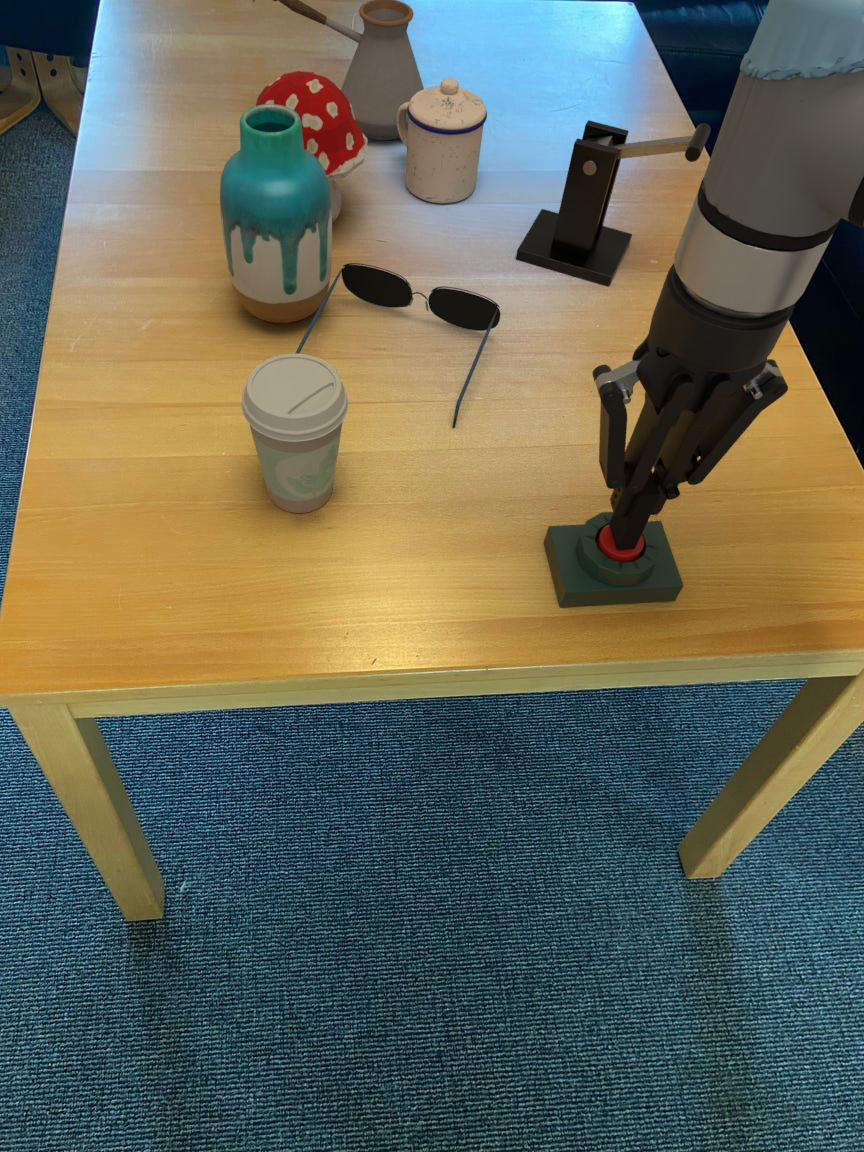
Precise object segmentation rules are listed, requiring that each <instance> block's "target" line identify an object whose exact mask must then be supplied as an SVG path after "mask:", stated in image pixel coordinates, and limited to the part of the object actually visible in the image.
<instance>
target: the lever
mask: <svg viewBox="0 0 864 1152" xmlns="http://www.w3.org/2000/svg"><path fill="white" fill-rule="evenodd" d="M711 130H712V129H711V126H710V125H709V124H708V123H706V122H705V123H704V122H703V123H700V124H698V125H697V126H696V127H695V130H694V133H693V134H692V135H685V136H677V137H669V138H660V139H652V140H644V141H643V140H642V141H636V142H635V141H634V142H628V143H627V142H626V143H625V144H619V145H613V136H607V137H599V138H591V139H586V141H590V142H594V143H597V144H601V145H605V146H609V147H613V148H616V149H619V151H618V154H617V158H616V159H621V160H623V159H630V158H632V159H633V158H641V157H648V156H656V155H657V156H658V155H666V154H675V153H681V152H682V153H683V152H685V153H684V158H685V159H686V160H687V162H690V163H694V162H696V161H698V160H699V159H700V157H701V154H702V153H703V150H704V148H705V145H706V144H707V141H708V139H709V137H710V135H711V132H712V131H711Z"/></svg>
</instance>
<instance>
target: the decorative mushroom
mask: <svg viewBox="0 0 864 1152" xmlns="http://www.w3.org/2000/svg"><path fill="white" fill-rule="evenodd" d="M263 104H276V105H282V106H286V107H288V108H290V109H292V110H294V111H295V112H296V113H297V114H298V115H299V117H300V119H301V124H302V135H303V144H304V149H305V150H307V151H308V152H310V153H311V154H313V155H314V156H315V157H316V158H317V159H318V160H319V161H320V163H321V165H322V166H323V168H324V170H325V173H326V176H327V179H328V184H329V190H330V198H331V212H332V224H333V223H334V222H335V221H336V219H337V218H338V217H339V215H340V212H341V206H342V195H341V190H340V187H339V186H338V184H337V182H336V181H335V180H338V179H344V178H345V177H347V176H348V175H350V174H351V173H352V172H353V171H355V170H356V169H358V168H359V167H360V166H361V165H362V164H364V162H365V159H366V156H367V155H366V154H367V149H368V139H369V138H368V137H366V136H365V135H364V134H363V132H362V131H361V129H360V128H359V126H358V125H357V122H356V119H355V115H354V111H353V108H352V105H351V103H350V102H349V101H348V99H347V98H346V96H345V95H344V94H343V93H342V91H341V88H339V87H338V85H336V83H334V82H333V81H332V80H330V79H329V78H328V77H326V76H324V75H321V74H319V73H316V72H313V71H300V70H297V71H291V72H286V73H283V74H282V75H280V76H279V77H277V78H275V79H274V80H273V81H271V82H270V83H269V84H267V85H266V86H264V88H263V89H262V90H261V92H260V94H259V95H258V97H257V99H256V101H255V105H254V106H258V105H263Z"/></svg>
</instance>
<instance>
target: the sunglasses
mask: <svg viewBox="0 0 864 1152" xmlns="http://www.w3.org/2000/svg"><path fill="white" fill-rule="evenodd" d="M340 276H341V279H342V282H343V285H344V287H345V288H346V289H347V290H348V291H349V292H350V293H351V294H352V295H354V296H355V297H357V298H358V299H360V300H362V301H364V302H365V303H368V304H371V305H375V306H379V307H382V308H393V309H396V308H406V307H411V305H412V304H413V302H414V297H413V295H416V294H418V295H420V296H422V297H423V298H424V299H425V301H424V302H425V303H424V305H425V309H426V311H427V312H428V311H429V310H430V311H431V313H432V314H433V315H434V316H436V317H437V318H439V319H440V320H443V321H444V322H445V323H448V324H450V325H453V326H454V327H458V328H460V329H461V328H462V329H465V330H469V331H476V332H482V331H485V334H484V336H483V338H482V341H481V344H480V345H479V348H478V350H477V352H476V355H475V357H474V360H473V362H472V365H471V367H470V369H469V371H468V374H467V377H466V379H465V381H464V383H463V386H462V388H461V391H460V393H459V396H458V398H457V400H456V404H455V409H454V416H453V422H452V429H454V428H456V425H457V421H458V417H459V413H460V412H459V411H460V407H461V403H462V401H463V398H464V397H465V394H466V392H467V391H466V390H467V389H468V386H469V383H470V382H471V379H472V378H473V377H472V376H473V374H474V371H475V369H476V367H477V364H478V362H479V360H480V357H481V354H482V352H483V350H484V347H485V345H486V343H487V340H488V338H489V335H490V332H491V330H493V329H495V328H497V326H498V325H499V323H500V320H501V310H500V309H501V307H500V305H499V304H498V303H497V302H496V301H495V300H493V299H492V298H490V297H488V296H485V295H483V294H480V293H477V292H476V291H475V292H474V291H471V290H468V289H467V290H466V289H465V288H459V287H453V286H445V285H443V286H437V287H435V288H433V289H432V290H430V294H429V295H428V297H427V296H426V295H425V294H424V293H422V292H420V291H415V292H413V290H412V288H411V287H412V285H411V283H410V282H409V281H408V279H406V278H405V277H404V276H403V275H400V274H399V273H396V272H394V271H392V270H388V269H387V268H383V267H380V266H376V265H371V264H367V263H359V262H348V263H344V264H343V265H342V267H341V269H340V270H339V272H338V273H337V275H336V276H335V278H334V280H333V282H332V284H331V285H330V287H329V288H328V291H327V294H326V296H325V298H324V300H323V302H322V304H321V305H320V306H319V307H318V309H317V310H316V311H317V312H316V313H315V315H314V317H313V319H312V320H311V322H310V324H309V325H308V328H307V330H306V332H305V334H304V336H302V337H303V338H302V339H301V341H300V343H299V345H298V347H297V348H296V351H295V353H297V354H301V351H302V349H303V348H304V345H305V344H306V342H307V340H308V338H309V336H310V334H311V332H312V330H313V329H314V327H315V325H316V323H317V322H318V319H319V317H320V315H321V314H322V311H323V310H324V307H325V306H326V304H327V302H328V300H329V298H330V296H331V294H332V292H333V291H334V288H335V286H336V285H337V282H338V280H339V278H340Z"/></svg>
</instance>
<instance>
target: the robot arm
mask: <svg viewBox="0 0 864 1152" xmlns="http://www.w3.org/2000/svg"><path fill="white" fill-rule="evenodd" d="M739 70H740V71H739V74H738V77H737V80H736V83H735V85H734V89H733V92H732V95H731V97H730V100H729V103H728V106H727V109H726V112H725V115H724V117H723V121H722V123H721V126H720V129H719V132H718V135H717V138H716V140H715V143H714V147H713V150H712V153H711V156H710V158H709V161H708V164H707V168H706V169H705V173H704V175H703V177H702V180H701V182H700V184H699V188H698V191H697V194H696V196H695V199H694V200H693V204H692V207H691V209H690V212H689V214H688V217H687V220H686V223H685V226H684V229H683V231H682V234H681V237H680V239H679V243H678V245H677V248H676V251H675V253H674V259H673V263H672V264H671V266H670V267H669V269H668V272H667V274H666V277H665V279H664V282H663V286H662V288H661V291H660V293H659V296H658V299H657V301H656V304H655V307H654V310H653V313H652V317H651V322H650V326H649V330H648V334H647V336H646V337H645V338H644V340H643V341H642V342H641V343H640V344H639V345H638V346H637V347H636V349H635V350H634V352H633V353H632V359H631V360H630V361H628V362H627V363H624V364H622V365H620V366H618V367H616V368H614V369H611V367H610V366H609V365H608V364H599V365H598V366H596V367H595V368H594V369H593V370H592V378H593V381H594V384H595V388H596V390H597V393H598V397H599V399H600V410H599V412H600V413H599V443H598V444H599V445H598V446H599V447H598V463H599V466H600V470H601V472H602V476H603V479H604V482H605V485H606V488H607V489H609V490H613V491H612V493H611V495H610V498H609V503H610V506H611V510H612V512H613V516H612V518H611V521H610V523H609V525H610V529H611V532H612V535H613V539H614V542H615V545H616V549H617V550H625V549H635V547H636V545H637V543H638V541H639V539H640V537H641V535H642V532H643V530H644V528H645V526H646V524H647V522H648V521H650V518H651V516H657V515H659V514H660V513H661V512H662V511H663V509H664V506H665V505H666V502H667V501H671V500H675V499H677V498H678V497H680V496H681V491H680V489H679V485H680V484H683V483H687V484H689V485H691V486H695V485H699V484H701V483H702V482H704V480H705V479H706V478H707V477H708V475H709V474H710V473H711V472H712V470H713V469H714V468H715V467H716V466H717V465H718V463H719V462H720V461H722V459H723V458H724V456H725V455H726V454H727V453H728V452H729V451H730V449H731V448H732V447H733V446H734V445H735V443H736V442H737V441H738V440H739V439H740V438H741V437H742V435H743V434H744V433H745V432H746V431H747V429H748V428H749V427H750V426H751V425H752V423H753V422H754V421H755V420H756V418H758V416H759V415H760V414H761V413H762V412H763V411H765V409H767V408H768V407H770V406H771V405H772V404H774V403H775V402H776V401H778V400H779V399H780V398H782V397H783V396H784V395H785V394H787V392H788V390H789V385H788V383H787V382H786V379H785V377H784V375H783V373H782V371H781V370H780V368H779V366H778V363H777V362H776V360H775V359H773V358H772V359H771V358H769V357H770V355H771V354H772V352H773V350H774V349H775V346H776V344H777V343H778V341H779V339H780V337H781V335H782V333H783V331H784V330H785V328H786V326H787V324H788V322H789V320H790V318H791V316H792V314H793V312H794V311H795V306H796V303H797V301H798V300H799V299H800V298H801V297H802V296H803V294H804V293H805V291H806V289H807V287H808V285H809V283H810V282H811V279H812V277H813V275H814V273H815V271H816V269H817V267H818V265H819V264H820V261H821V259H822V257H823V256H824V253H825V251H826V249H827V248H828V245H829V244H830V242H831V240H832V238H833V235H834V233H835V232H836V230H837V227H838V225H839V224H840V222H841V220H842V219H843V220H845V221H846V222H849V223H851V224H852V225H854V226H857V227H859V228H861V229H863V230H864V0H769V1H768V4H767V6H766V7H765V10H764V13H763V16H762V18H761V20H760V23H759V25H758V27H757V29H756V32H755V34H754V37H753V39H752V41H751V44H750V46H749V49H748V51H747V52H746V53H745V54H744V55H743V58H742V60H741V62H740V66H739ZM768 358H769V359H768ZM638 382H640V384H641V386H642V388H643V390H644V403H643V406H642V408H641V411H640V413H639V417H638V418H637V421H636V423H635V425H634V428H633V431H632V434H631V435H630V438H629V441H628V444H626V443H627V430H628V429H627V427H628V426H627V425H628V411H627V406H626V405H628V404H630V403H631V401H632V398H631V397H632V395H633V393H634V387H635V385H636V383H638ZM626 445H627V446H626ZM699 457H700V458H699Z"/></svg>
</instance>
